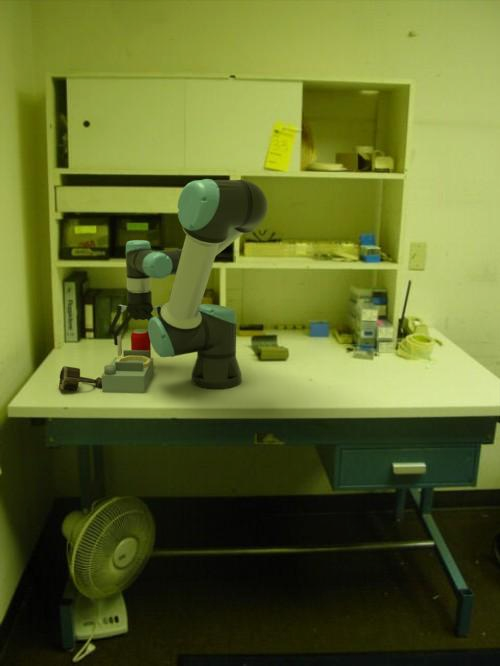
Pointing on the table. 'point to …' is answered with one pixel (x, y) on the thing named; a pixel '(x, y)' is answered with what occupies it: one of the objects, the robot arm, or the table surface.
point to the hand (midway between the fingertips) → (141, 355)
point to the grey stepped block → (128, 372)
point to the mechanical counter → (74, 378)
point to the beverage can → (140, 340)
